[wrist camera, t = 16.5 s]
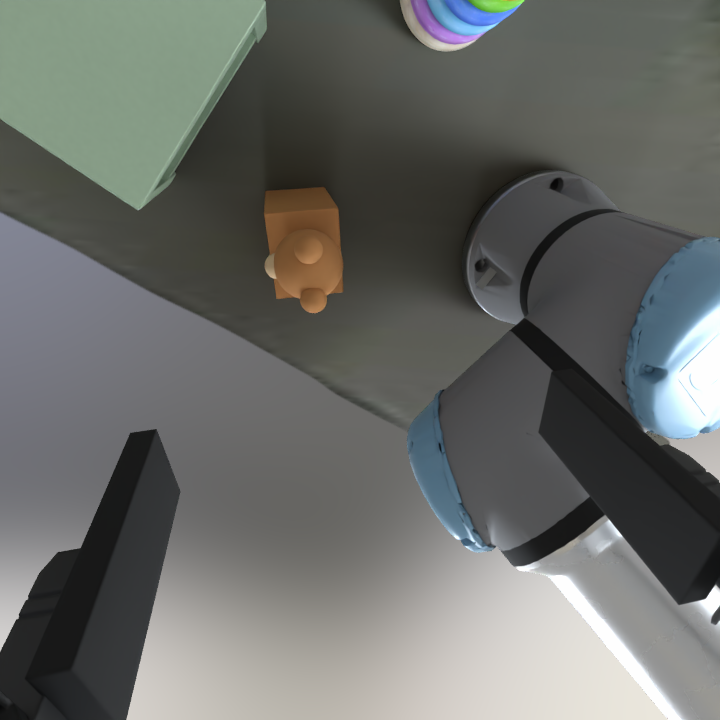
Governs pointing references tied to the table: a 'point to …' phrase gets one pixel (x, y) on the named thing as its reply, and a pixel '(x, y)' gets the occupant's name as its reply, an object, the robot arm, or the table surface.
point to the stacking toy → (454, 20)
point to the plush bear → (303, 245)
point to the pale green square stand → (121, 80)
